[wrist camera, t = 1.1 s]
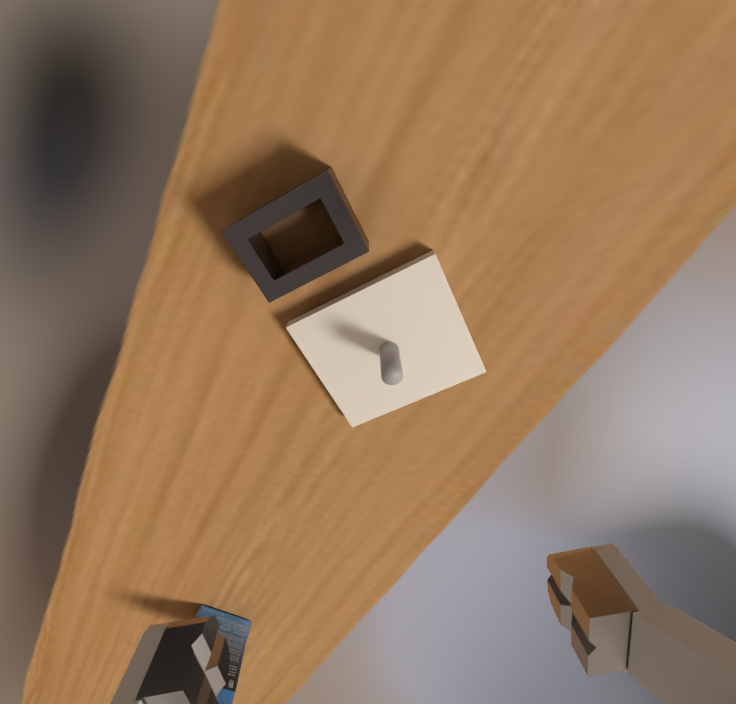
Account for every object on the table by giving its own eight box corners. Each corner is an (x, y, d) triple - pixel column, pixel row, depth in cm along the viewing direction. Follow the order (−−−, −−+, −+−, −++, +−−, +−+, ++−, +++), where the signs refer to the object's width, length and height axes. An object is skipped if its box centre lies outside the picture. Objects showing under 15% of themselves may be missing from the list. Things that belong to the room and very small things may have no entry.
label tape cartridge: (192, 614, 65) (158, 709, 54) (202, 602, 64) (168, 698, 53) (242, 631, 68) (219, 725, 57) (252, 620, 66) (230, 715, 55)
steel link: (331, 167, 34) (327, 170, 31) (368, 240, 37) (368, 251, 34) (235, 222, 36) (221, 231, 33) (277, 288, 39) (269, 302, 36)
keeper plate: (432, 249, 38) (445, 269, 32) (482, 364, 43) (500, 399, 38) (288, 321, 41) (275, 351, 35) (352, 419, 47) (351, 458, 41)
